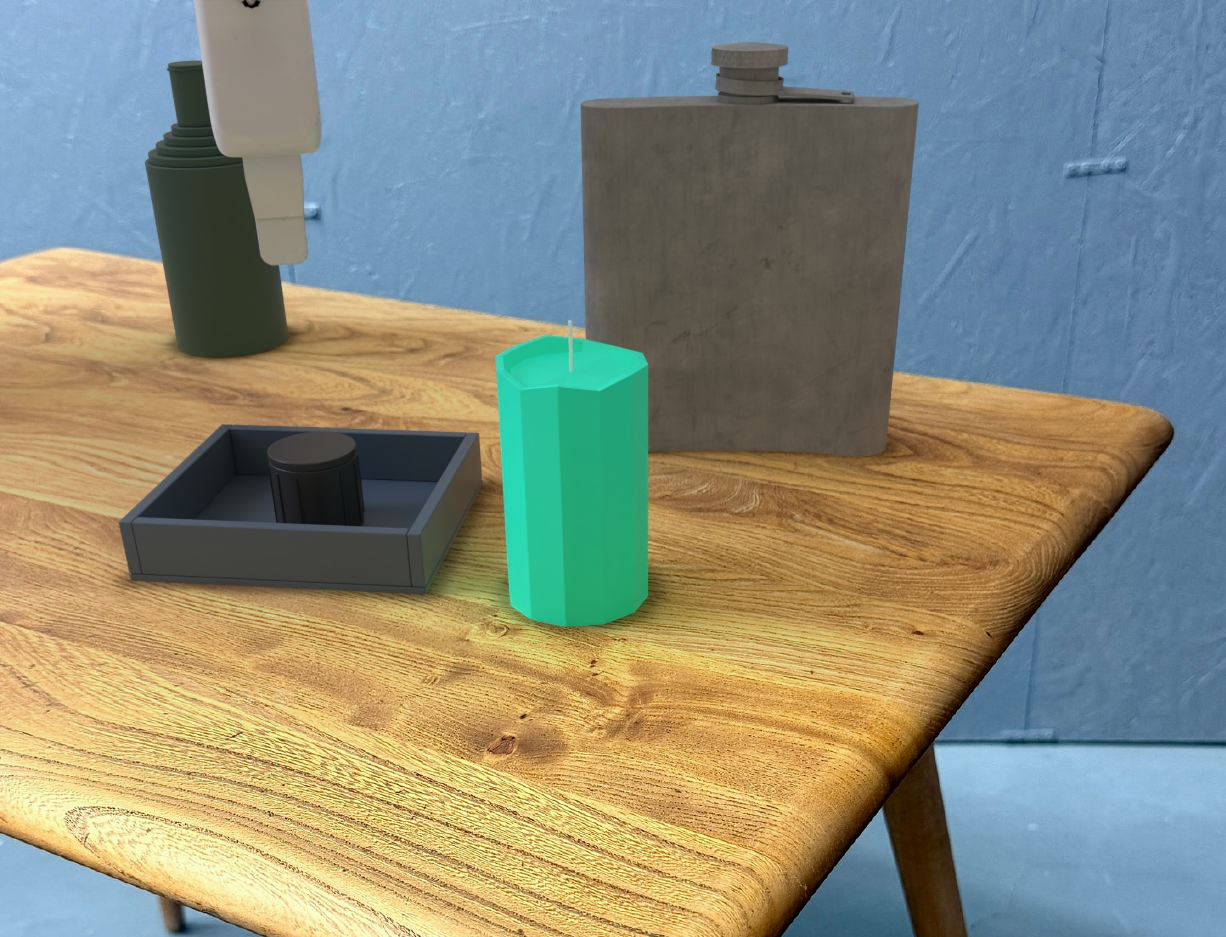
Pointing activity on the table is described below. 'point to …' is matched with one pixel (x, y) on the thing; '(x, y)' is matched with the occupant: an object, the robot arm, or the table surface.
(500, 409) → the candle
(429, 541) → the tray
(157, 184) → the flask
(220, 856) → the table surface
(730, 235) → the hip flask
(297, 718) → the table surface
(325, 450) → the cap
